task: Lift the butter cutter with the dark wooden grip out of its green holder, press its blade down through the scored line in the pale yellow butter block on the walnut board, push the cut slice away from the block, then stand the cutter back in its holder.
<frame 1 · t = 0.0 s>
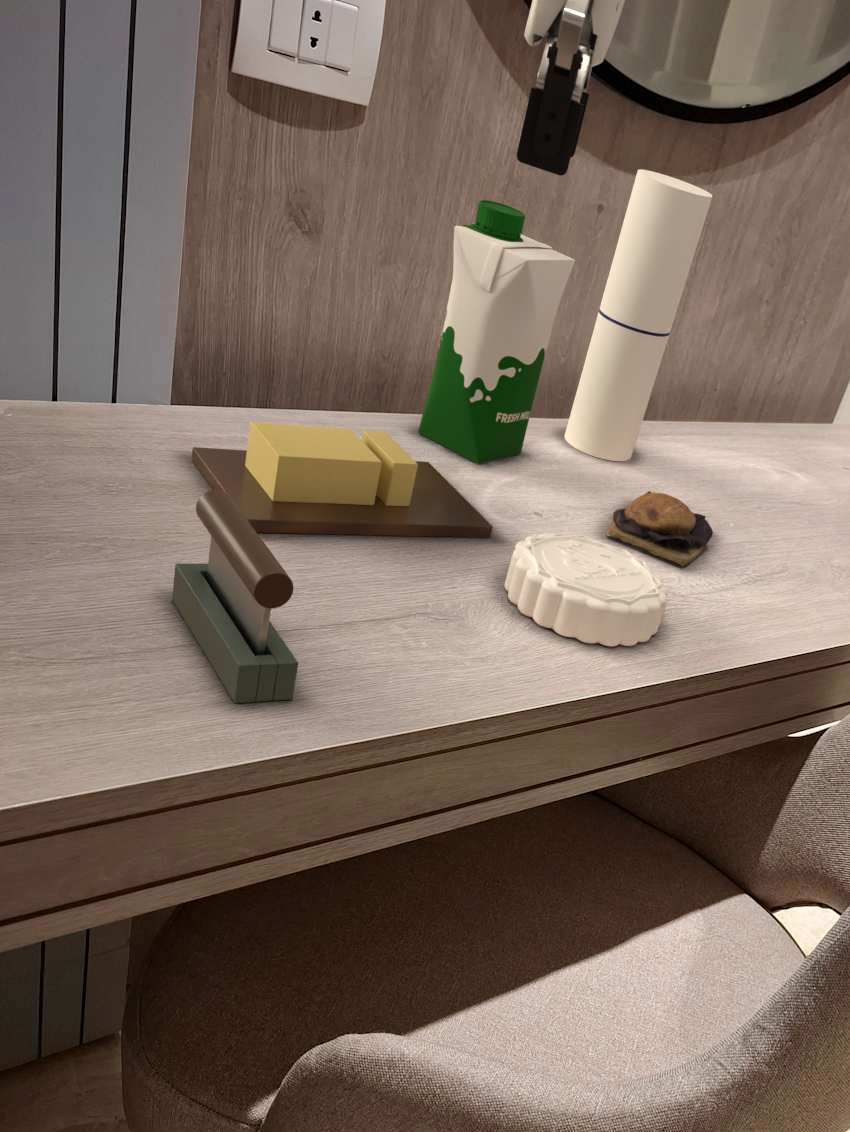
hand: (546, 159, 77), 27 cm above the table, tool pointing down, fingers open, 9 cm apart
butter board: (344, 499, 92), on the table
mooncake: (580, 609, 89), on the table
butter cutter: (237, 590, 68), in the knife holder
cylindrical container: (597, 447, 121), on the table
butter slice: (382, 489, 93), point 1 cm above the table, touching butter board
knife holder: (230, 648, 70), on the table
open sandwich: (658, 538, 106), on the table
butter block: (309, 485, 90), point 1 cm above the table, touching butter board
milk carton: (470, 446, 111), on the table
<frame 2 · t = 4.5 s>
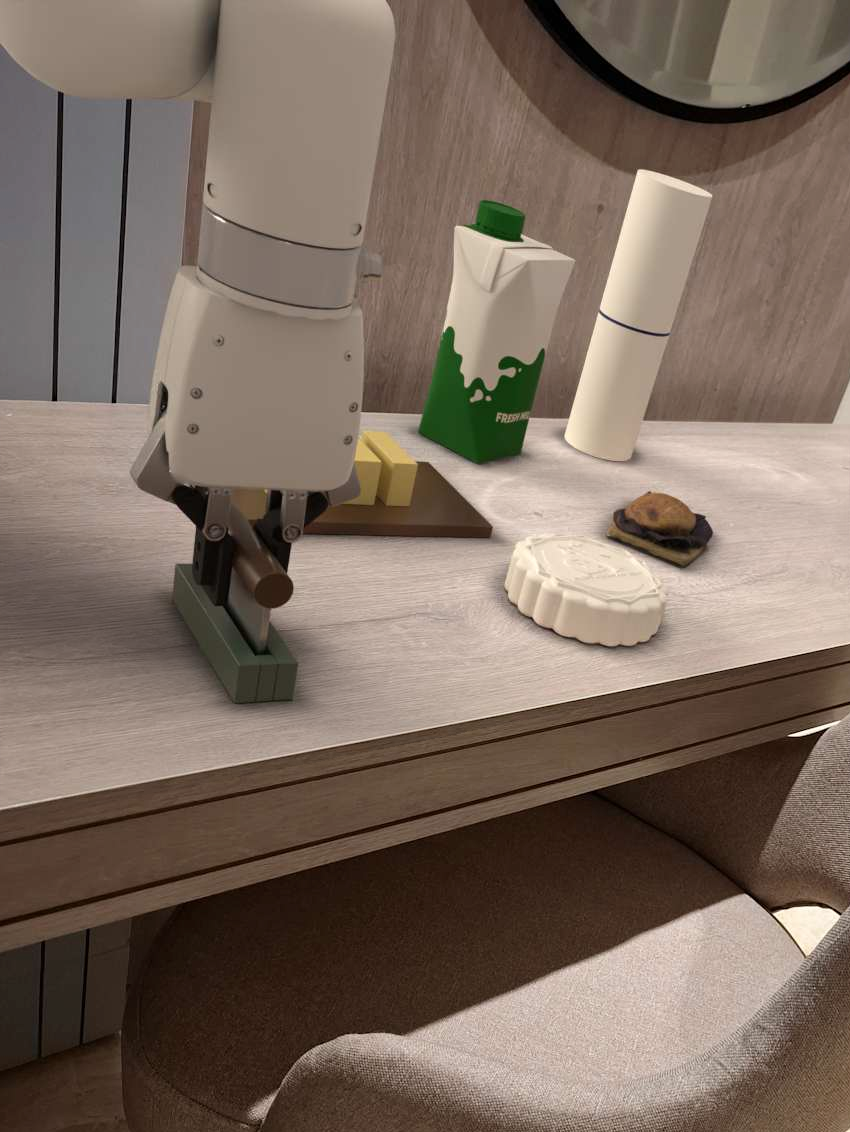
hand: (237, 591, 68), 4 cm above the table, tool pointing down, fingers closed on butter cutter, 2 cm apart
butter cutter: (237, 590, 68), in the knife holder, touching gripper
everything else where it was.
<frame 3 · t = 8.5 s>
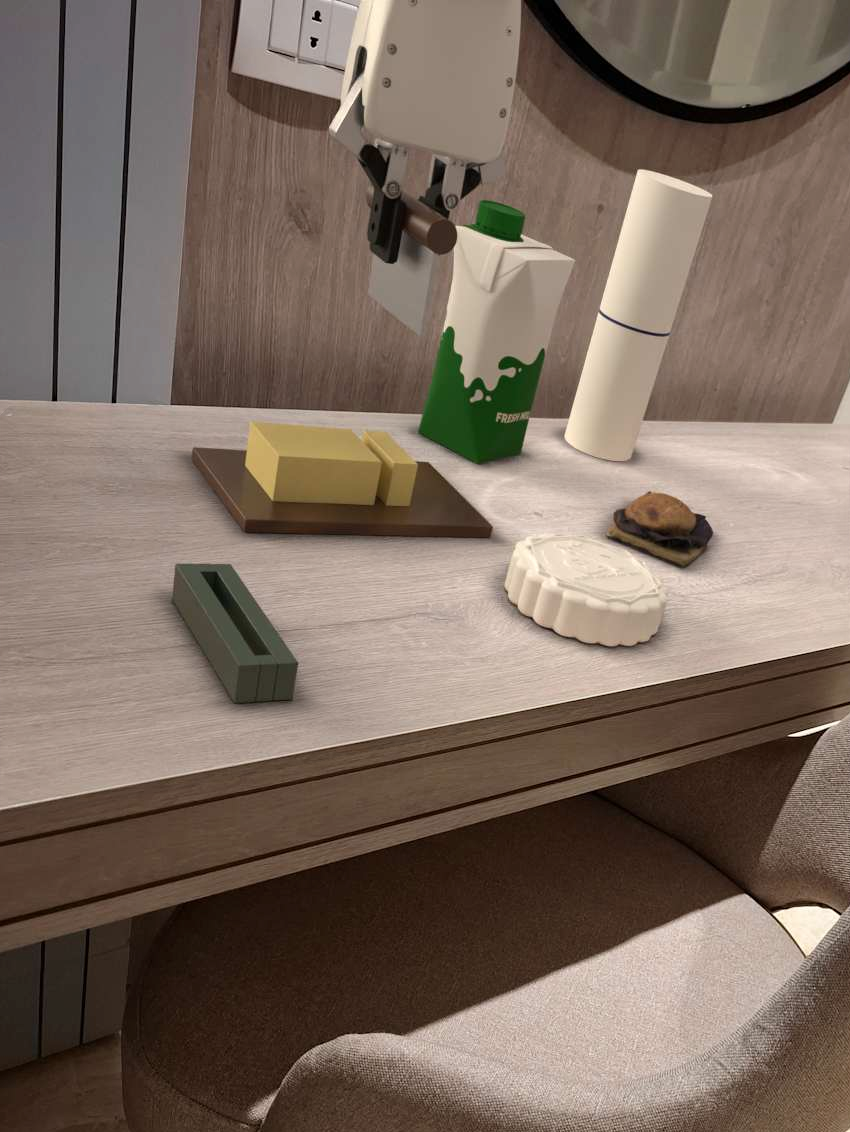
hand: (402, 258, 82), 18 cm above the table, tool pointing down, fingers closed on butter cutter
butter cutter: (403, 258, 82), point 18 cm above the table, touching gripper
everything else where it was.
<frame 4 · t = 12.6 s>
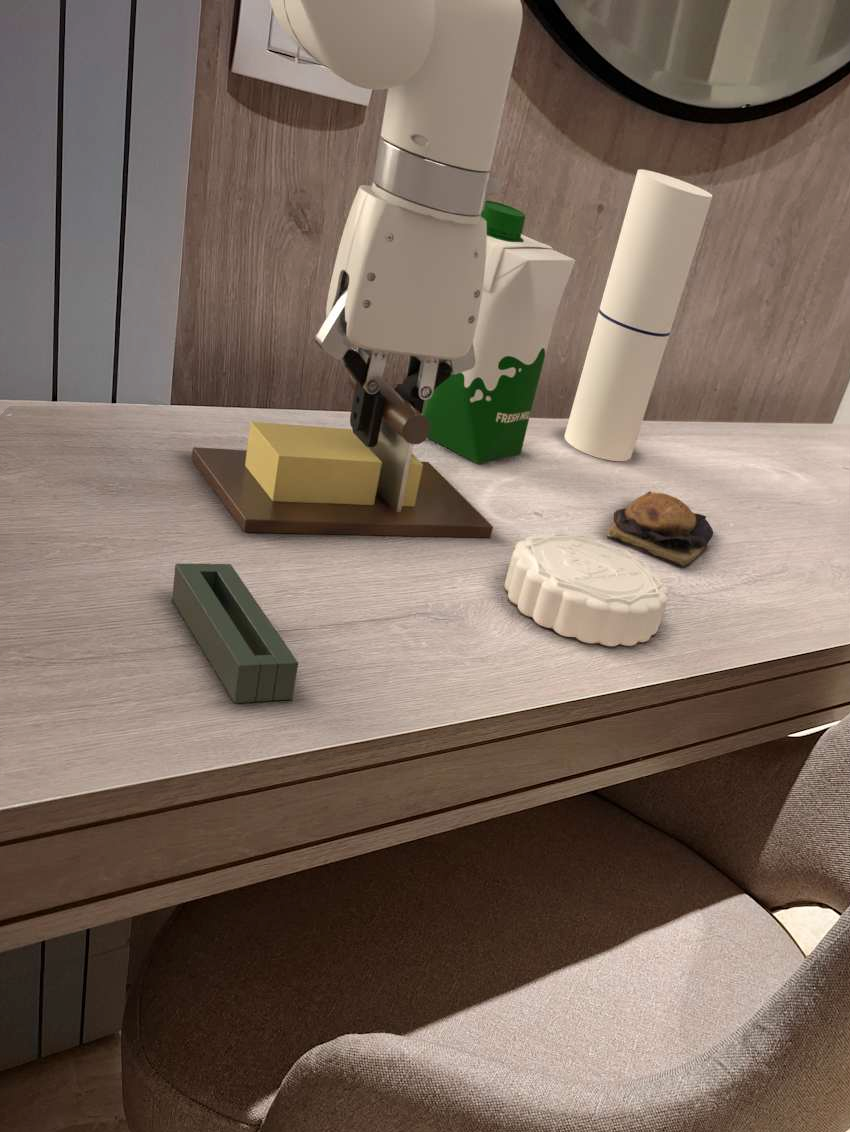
hand: (381, 439, 91), 5 cm above the table, tool pointing down, fingers closed on butter cutter, 2 cm apart
butter cutter: (382, 439, 91), point 5 cm above the table, touching gripper
butter slice: (387, 489, 94), point 1 cm above the table
everything else where it was.
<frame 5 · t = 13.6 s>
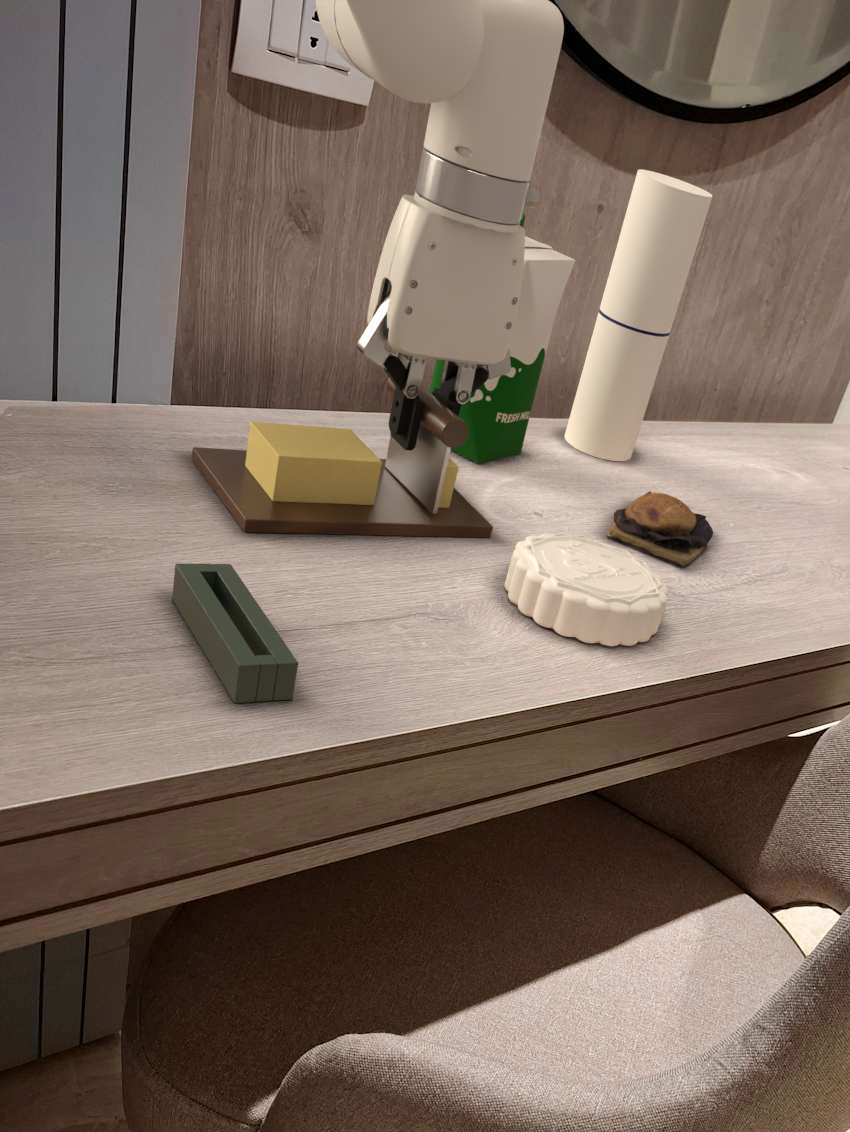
hand: (418, 442, 93), 5 cm above the table, tool pointing down, fingers closed on butter cutter, 2 cm apart
butter cutter: (419, 443, 92), point 5 cm above the table, touching butter slice, gripper
butter slice: (422, 490, 95), point 1 cm above the table, touching butter board, butter cutter
everything else where it was.
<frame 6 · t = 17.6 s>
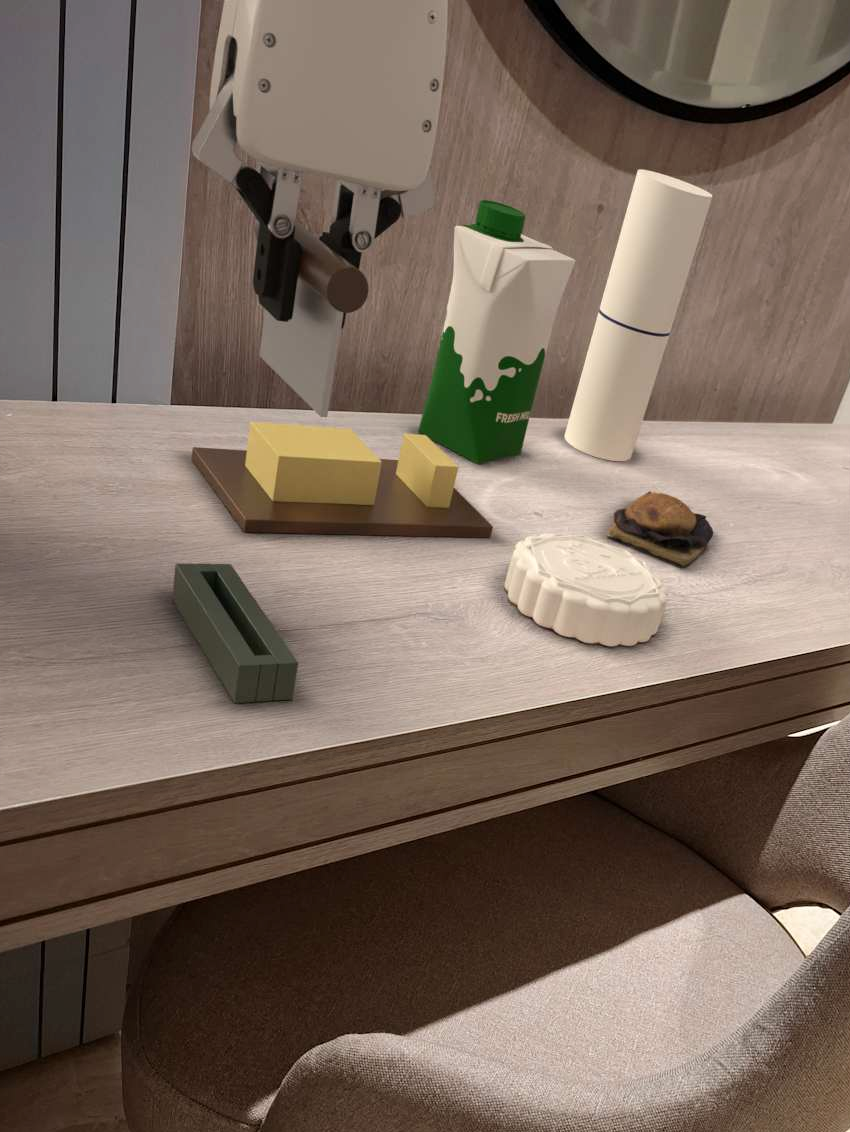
hand: (300, 313, 63), 19 cm above the table, tool pointing down, fingers closed on butter cutter
butter cutter: (301, 313, 63), point 19 cm above the table, touching gripper
butter slice: (422, 491, 95), point 1 cm above the table, touching butter board
everything else where it was.
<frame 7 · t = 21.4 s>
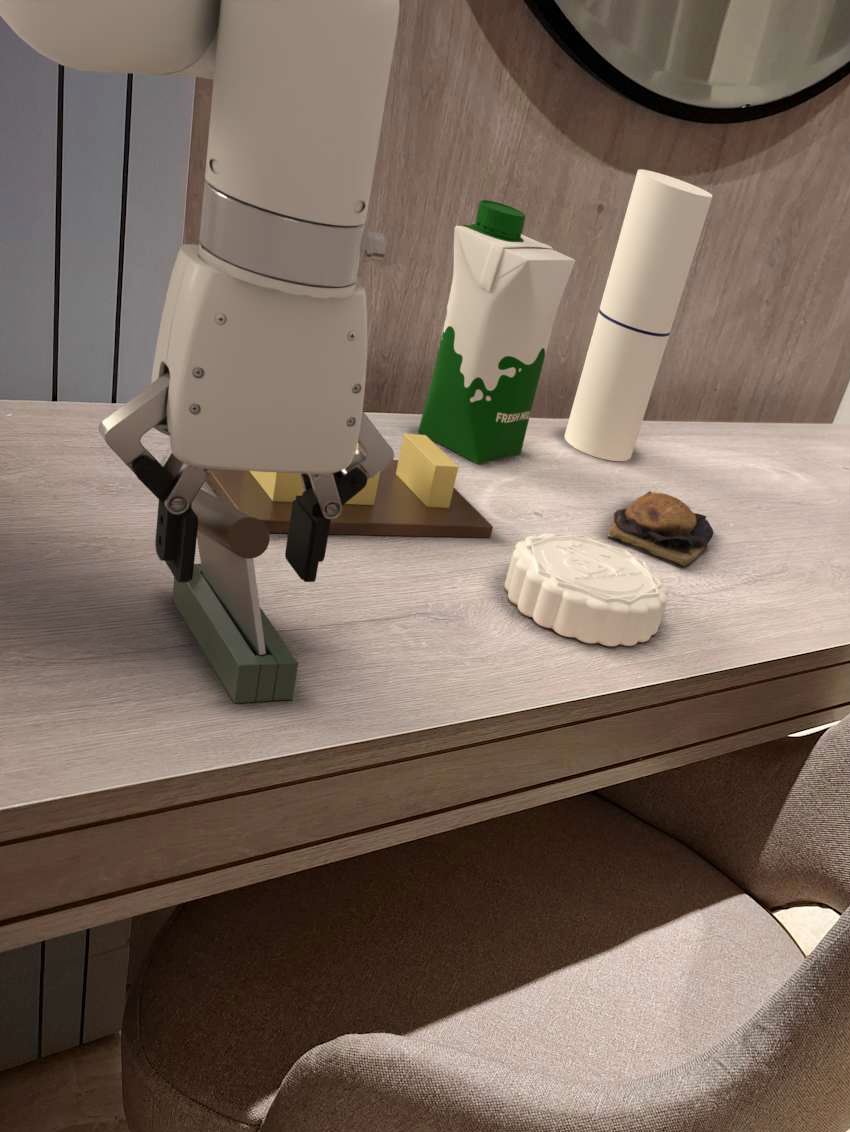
hand: (240, 568, 67), 5 cm above the table, tool pointing down, fingers open, 6 cm apart
butter cutter: (226, 569, 67), resting in knife holder, tilted 19°
everything else where it was.
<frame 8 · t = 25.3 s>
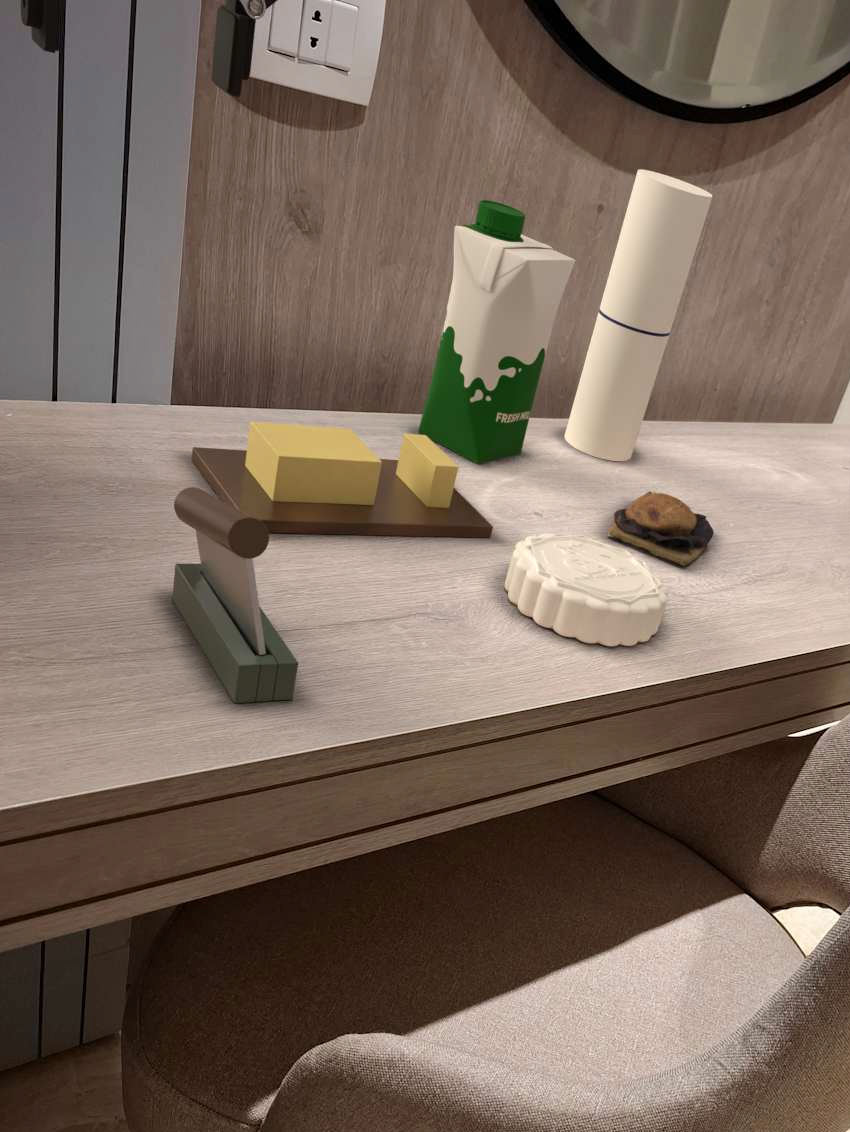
hand: (139, 69, 65), 26 cm above the table, tool pointing down, fingers open, 9 cm apart
nothing on the table moved.
at the end: butter slice moved 3.5 cm from its start; butter slice touching butter board; butter cutter 0.7 cm off-centre on the knife holder, point 4.9 cm above the knife holder's base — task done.
